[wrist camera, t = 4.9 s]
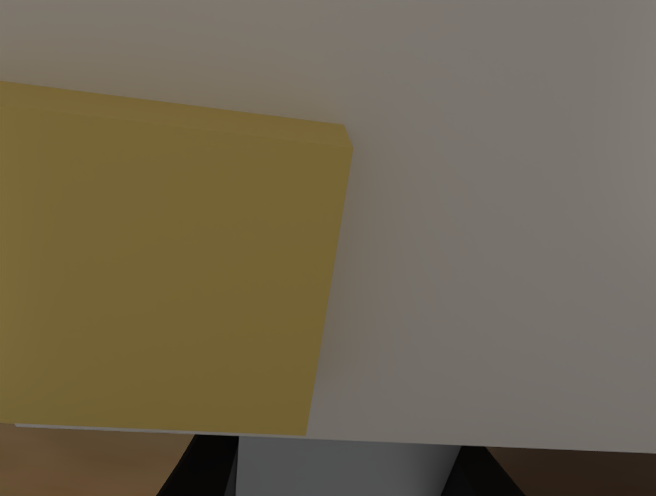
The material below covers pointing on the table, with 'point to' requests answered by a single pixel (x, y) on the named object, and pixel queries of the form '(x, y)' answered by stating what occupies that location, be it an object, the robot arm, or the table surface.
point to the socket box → (331, 219)
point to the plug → (341, 467)
